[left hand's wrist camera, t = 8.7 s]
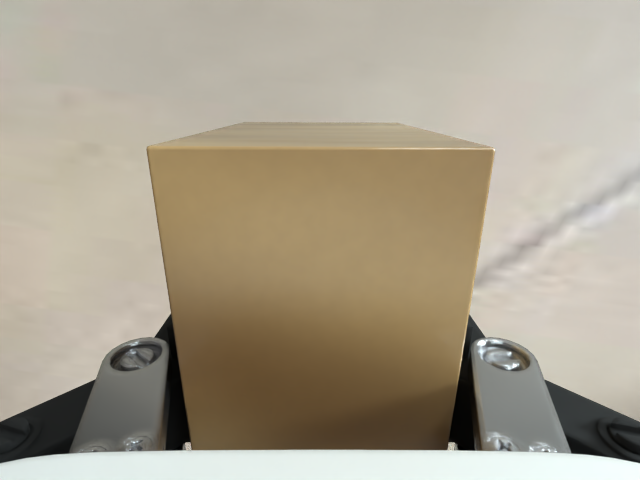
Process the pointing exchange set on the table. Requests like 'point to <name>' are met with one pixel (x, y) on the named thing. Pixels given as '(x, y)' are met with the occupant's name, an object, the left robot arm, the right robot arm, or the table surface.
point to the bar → (320, 281)
